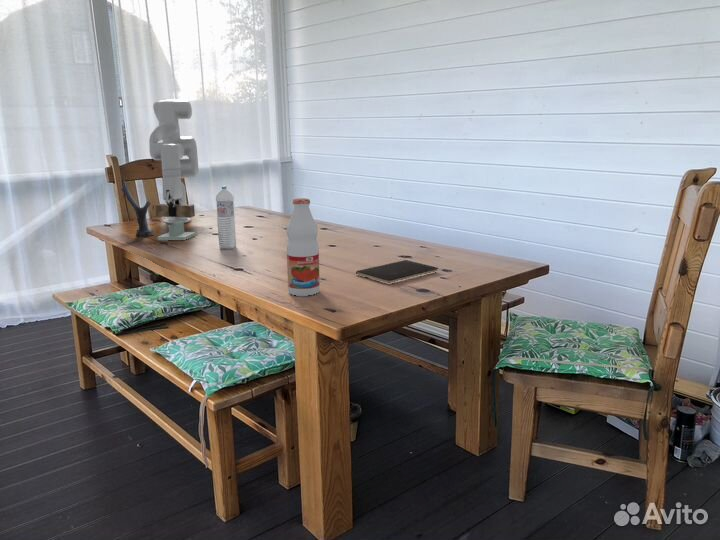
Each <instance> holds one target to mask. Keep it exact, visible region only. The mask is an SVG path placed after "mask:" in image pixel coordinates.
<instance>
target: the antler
mask: <svg viewBox="0 0 720 540" xmlns="http://www.w3.org/2000/svg"><path fill="white" fill-rule="evenodd" d="M120 189H121V191H122V192H123V194H124V195H125V197H126V199H127V201H128V202H129V203H130V205H131V206H132V208H133V209H134V212H135V215H136V217H137V220H136V221H137V225H138V229H136V234H135V235H136V236H135V237H137V236H140V237H139V238H142V237H141V236H146V237H150V236H153V235H154V233H153V230H150V229H149V225H148V221H147V213H148V209H149V207H150V206H151V204H152V203H151V202H150V201H146V203H145V204H144V205H143V206H142V207H140V206H139V205H138V203H137V202H136V200H135V199H134V197H133V196H132V194H131V192H130V190H129V187H128V185H127V183H126V180H123V182H122V188H120Z"/></svg>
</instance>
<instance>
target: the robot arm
mask: <svg viewBox="0 0 720 540" xmlns="http://www.w3.org/2000/svg"><path fill="white" fill-rule="evenodd" d="M152 109H153V112H154V113H153V114H154V115H155V117H156V120H157V122H158V126H156V127H155V128H154V129H153V131H152V132H151V133H150V136H149V140H148V142H149V143H148V144H149V145H148V148H149V155H150V157H151V159H153V160H154V161H161V172H162V198H163V200H164V201H165V204H168V209H169V216H177V215H176V207H175V204H187V205H188V202H187V192H186V186H185V184H184V182H182V179H189V178H191V179H192V178H197V177H198V175H199V171H200V170H199V169H200V168H199V158H198V157H199V156H198V146H197V142H196V140H195V138H194V137H192V136H187V135H186V136H183V135H181V129H180V123H179V120H183V119H184V120H186V119H187V120H190V119H191V118H192V115H193V108H192V104H191V102H190V101H189V100H187V99H165V100H157V101H155V102H153V107H152ZM160 141H162V142H160ZM183 157H188V158H183ZM178 221H184V224H185V223H190V222H192V219H191V217H167V218H166V219H165V221H164V222H165V223H166V224H173V223H175V222H178Z"/></svg>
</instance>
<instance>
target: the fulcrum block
mask: <svg viewBox="0 0 720 540" xmlns="http://www.w3.org/2000/svg"><path fill="white" fill-rule="evenodd" d="M167 228H168V232H166V233H164V234H161V235H158V236H157V241H168V240H185V241H187V240H189V239H191V237H192V238H194V237H196V236H195V235H197V233H196V231H195V232H194V231H192V232H191V231H185V223H184V221H178V222H175V223H169V224H168V227H167ZM193 236H194V237H193ZM188 238H189V239H188ZM186 239H187V240H186Z"/></svg>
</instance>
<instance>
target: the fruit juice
mask: <svg viewBox="0 0 720 540" xmlns="http://www.w3.org/2000/svg"><path fill="white" fill-rule="evenodd" d="M292 205H293V211H292V214H291V217H290V220H289V222H288V224H287V225H286V236H287V238H288V241H287V244H286V267H287V269H286V270H287V289H288V293H289V295H291V294H292V295H291V296H294V295H296V296H295V297H309V296H308V295H312V296H314V295H313V294H315V295H317V294H319V293H318V292H320V290H321V288H320V287H321V286H320V283H321V282H320V250H319V249H320V247H319V242H318V240H317V237H318V234H319V233H318V232H319V230H318V229H319V228H318V225H317V223H316V221H315V219H314V217H313V215H312V212H311V211H312V210H311V208H310V205H311V200H310V198H294V199H292ZM316 293H317V294H316Z"/></svg>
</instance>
